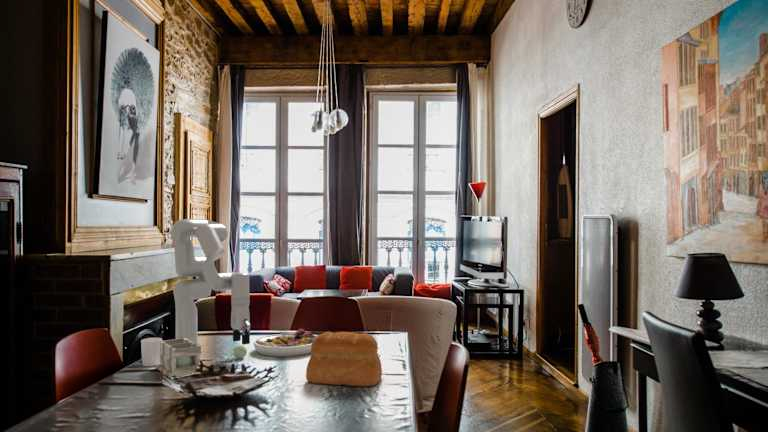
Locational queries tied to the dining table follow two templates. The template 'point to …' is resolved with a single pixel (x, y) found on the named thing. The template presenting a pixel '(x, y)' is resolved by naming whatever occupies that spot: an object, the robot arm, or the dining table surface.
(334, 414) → the dining table surface
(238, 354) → the sage ball
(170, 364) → the grey divided rectangular box
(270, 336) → the bowl
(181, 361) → the sage ball
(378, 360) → the bread
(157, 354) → the white cup
